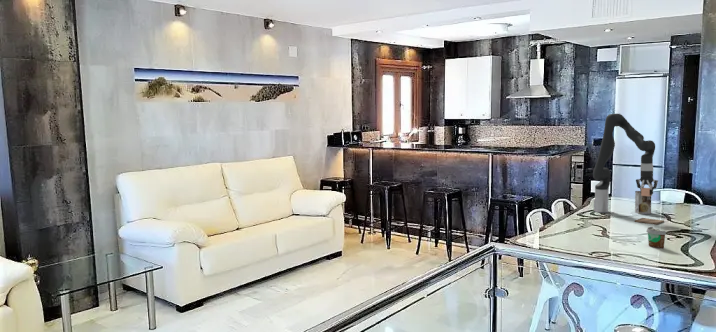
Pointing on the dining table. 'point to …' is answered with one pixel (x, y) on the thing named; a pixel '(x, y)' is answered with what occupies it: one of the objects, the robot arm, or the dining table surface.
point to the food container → (656, 237)
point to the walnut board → (649, 221)
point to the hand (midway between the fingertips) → (646, 194)
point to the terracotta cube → (645, 192)
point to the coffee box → (642, 203)
